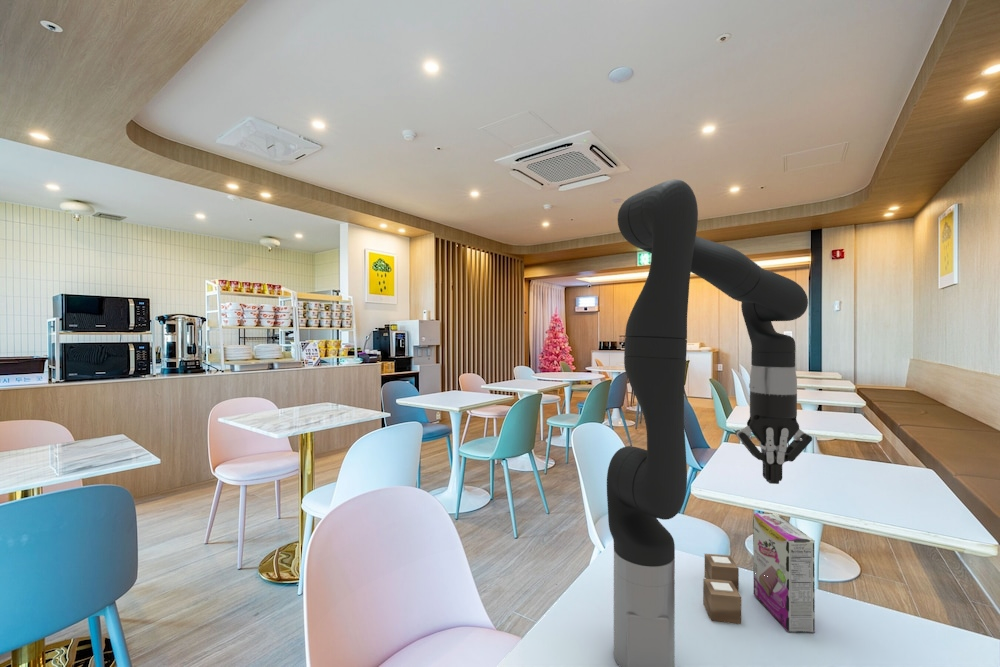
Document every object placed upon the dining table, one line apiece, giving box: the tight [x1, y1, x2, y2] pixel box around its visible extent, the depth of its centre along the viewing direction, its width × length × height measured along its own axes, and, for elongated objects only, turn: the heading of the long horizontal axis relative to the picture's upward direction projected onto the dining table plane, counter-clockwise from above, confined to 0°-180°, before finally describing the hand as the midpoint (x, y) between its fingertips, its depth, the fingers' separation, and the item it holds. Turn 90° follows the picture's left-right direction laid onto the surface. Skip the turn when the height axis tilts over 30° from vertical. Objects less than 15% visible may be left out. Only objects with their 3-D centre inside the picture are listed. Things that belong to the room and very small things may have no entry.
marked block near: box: [702, 578, 742, 625], centre depth 81 cm, size 5×5×5 cm
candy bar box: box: [752, 512, 816, 634], centre depth 81 cm, size 11×5×16 cm, turn 179°
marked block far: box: [704, 553, 740, 593], centre depth 90 cm, size 5×5×5 cm
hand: (772, 482), depth 82 cm, fingers closed
